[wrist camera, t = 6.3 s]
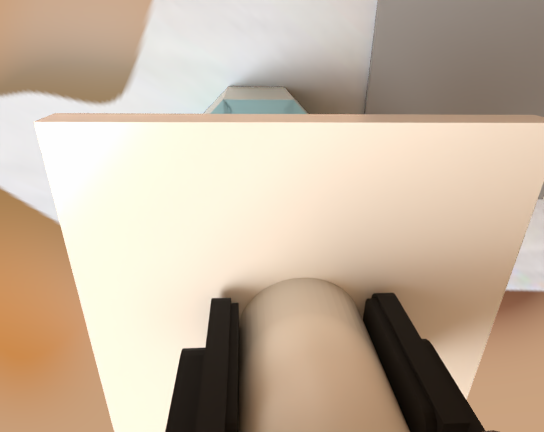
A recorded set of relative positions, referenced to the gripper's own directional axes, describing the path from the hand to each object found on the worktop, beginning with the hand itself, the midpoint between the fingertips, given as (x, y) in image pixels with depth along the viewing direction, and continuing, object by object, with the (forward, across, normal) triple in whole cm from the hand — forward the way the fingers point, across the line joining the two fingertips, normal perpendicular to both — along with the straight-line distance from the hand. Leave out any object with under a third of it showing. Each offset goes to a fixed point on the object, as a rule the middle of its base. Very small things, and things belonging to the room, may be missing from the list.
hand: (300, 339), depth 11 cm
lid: (+1, 0, 0) cm, 1 cm away
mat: (+20, -15, -4) cm, 25 cm away
